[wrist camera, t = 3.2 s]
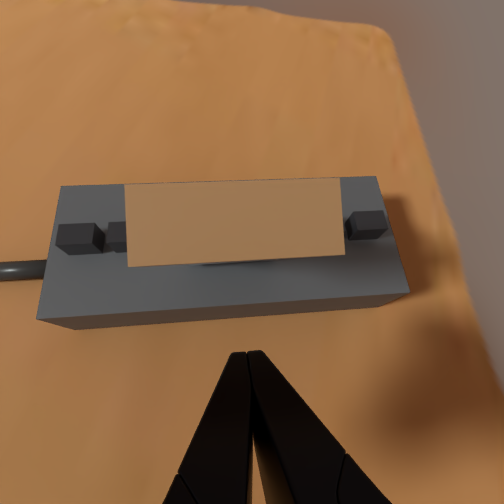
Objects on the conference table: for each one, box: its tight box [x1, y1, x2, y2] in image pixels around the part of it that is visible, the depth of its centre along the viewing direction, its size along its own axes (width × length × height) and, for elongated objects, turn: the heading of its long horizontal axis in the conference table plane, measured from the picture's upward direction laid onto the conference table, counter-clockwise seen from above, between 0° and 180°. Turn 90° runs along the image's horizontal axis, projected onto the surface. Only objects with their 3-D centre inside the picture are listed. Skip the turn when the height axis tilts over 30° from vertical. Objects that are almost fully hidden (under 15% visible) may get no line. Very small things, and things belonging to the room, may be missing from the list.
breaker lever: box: [124, 178, 345, 267], centre depth 12 cm, size 2×5×9 cm, turn 94°
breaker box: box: [0, 176, 410, 330], centre depth 18 cm, size 8×28×5 cm, turn 95°
